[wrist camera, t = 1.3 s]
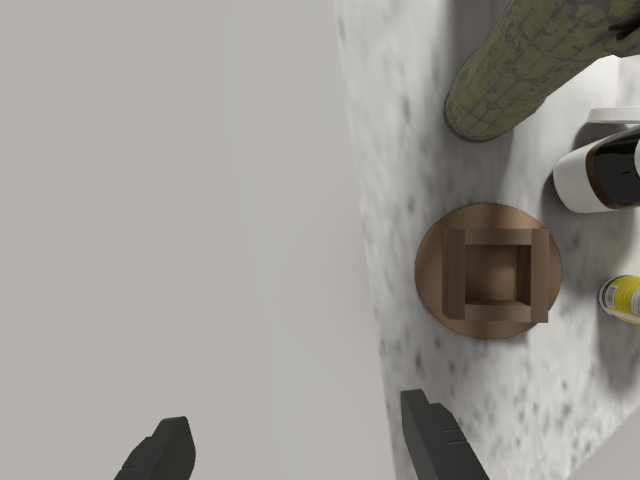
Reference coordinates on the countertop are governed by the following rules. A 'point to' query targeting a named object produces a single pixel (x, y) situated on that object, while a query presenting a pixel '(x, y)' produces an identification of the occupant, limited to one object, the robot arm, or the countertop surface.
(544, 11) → the thermos
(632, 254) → the countertop surface
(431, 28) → the countertop surface
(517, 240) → the holder
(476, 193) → the countertop surface
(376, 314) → the countertop surface
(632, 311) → the supplement bottle
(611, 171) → the spread jar
